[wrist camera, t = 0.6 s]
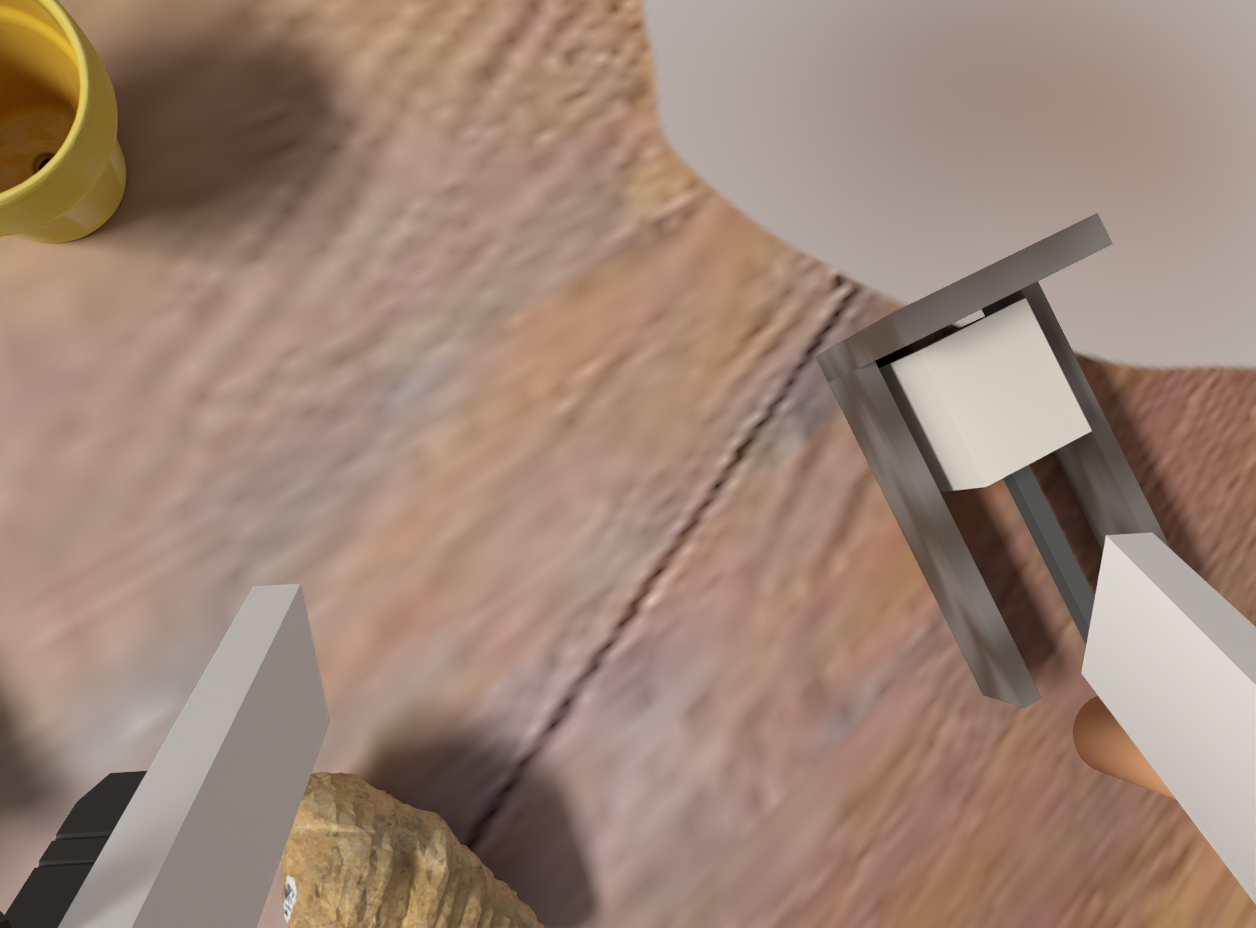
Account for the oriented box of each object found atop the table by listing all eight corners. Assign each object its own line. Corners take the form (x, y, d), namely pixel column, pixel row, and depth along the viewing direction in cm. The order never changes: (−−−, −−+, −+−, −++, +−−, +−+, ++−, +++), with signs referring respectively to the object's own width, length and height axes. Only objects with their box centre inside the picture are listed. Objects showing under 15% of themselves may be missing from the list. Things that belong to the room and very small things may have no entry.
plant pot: (176, 77, 48) (97, -41, 38) (165, 287, 47) (81, 221, 37) (-56, 59, 46) (-199, -67, 37) (-72, 276, 46) (-223, 204, 36)
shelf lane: (1146, 601, 53) (1298, 615, 43) (983, 695, 51) (1101, 731, 41) (983, 274, 53) (1097, 212, 43) (815, 356, 51) (893, 312, 41)
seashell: (586, 832, 48) (605, 889, 40) (525, 999, 47) (532, 1092, 39) (314, 736, 46) (278, 776, 38) (245, 906, 45) (193, 983, 37)
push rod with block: (1171, 740, 52) (1371, 798, 40) (1079, 795, 51) (1256, 871, 40) (965, 325, 53) (1103, 262, 41) (869, 372, 52) (982, 322, 40)
